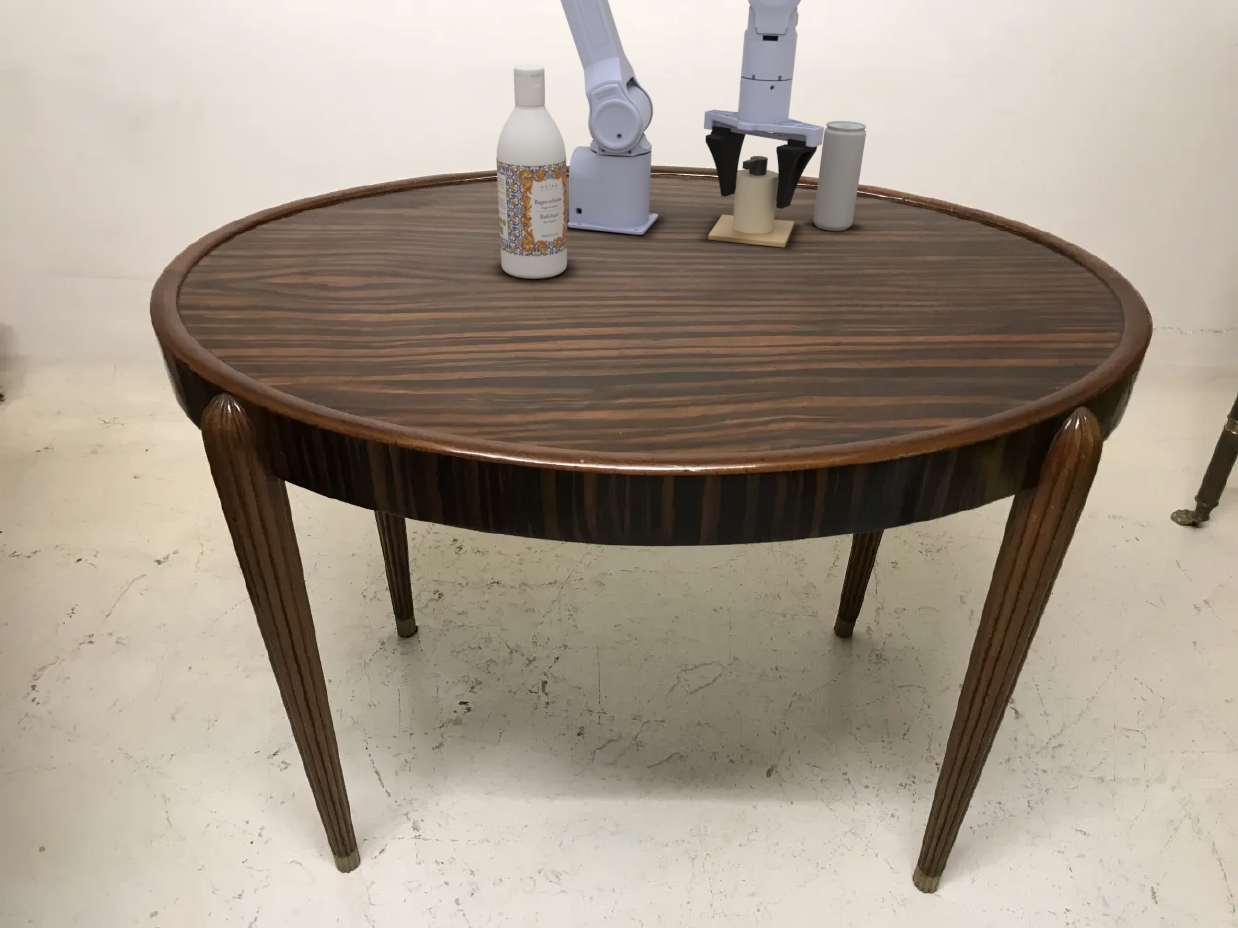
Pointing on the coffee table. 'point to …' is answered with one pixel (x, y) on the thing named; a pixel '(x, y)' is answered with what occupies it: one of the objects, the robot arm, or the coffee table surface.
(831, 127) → the beverage can
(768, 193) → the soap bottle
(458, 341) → the coffee table surface
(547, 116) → the bath foam
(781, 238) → the coaster
